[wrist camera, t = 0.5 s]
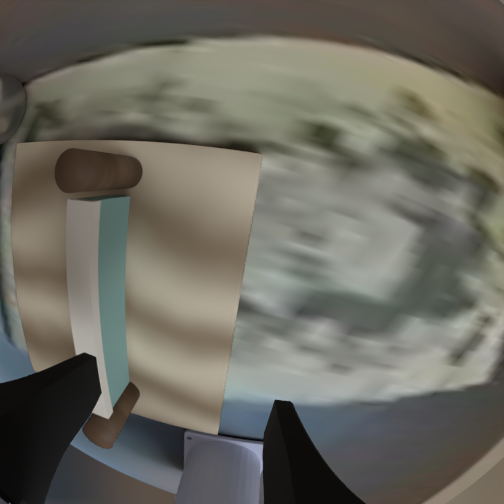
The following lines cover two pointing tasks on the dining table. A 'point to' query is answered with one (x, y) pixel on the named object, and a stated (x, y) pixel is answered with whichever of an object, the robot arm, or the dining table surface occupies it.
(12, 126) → the plastic bottle
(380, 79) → the dining table surface
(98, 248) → the gate
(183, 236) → the gate frame
